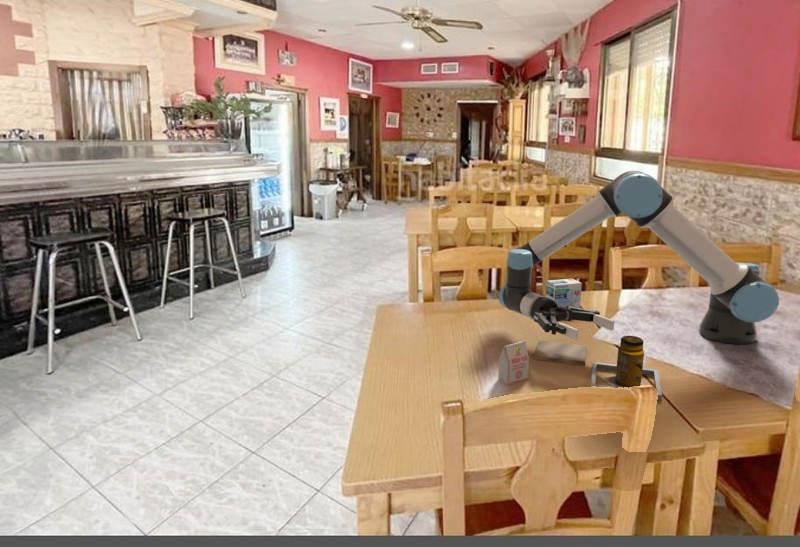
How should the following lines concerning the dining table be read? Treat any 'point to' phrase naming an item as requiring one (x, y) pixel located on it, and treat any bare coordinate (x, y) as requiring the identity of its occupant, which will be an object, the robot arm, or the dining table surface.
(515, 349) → the white milk carton
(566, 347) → the walnut board
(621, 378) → the yellow cylindrical jar
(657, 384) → the square collar
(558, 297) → the light bulb box
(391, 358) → the dining table surface
